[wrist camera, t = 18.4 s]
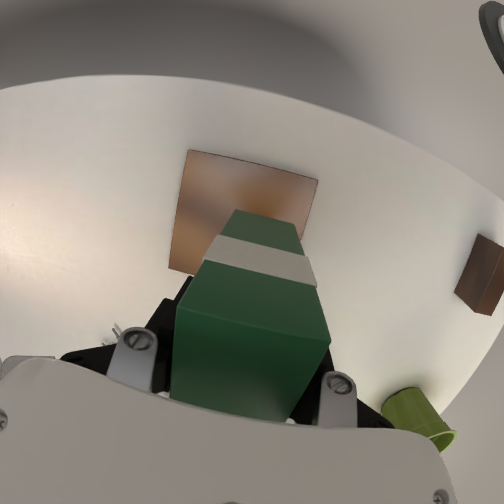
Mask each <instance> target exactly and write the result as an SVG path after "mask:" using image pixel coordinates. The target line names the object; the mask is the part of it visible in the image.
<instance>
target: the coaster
mask: <svg viewBox="0 0 504 504" xmlns="http://www.w3.org/2000/svg"><path fill="white" fill-rule="evenodd" d="M317 184H318V180H316V179H312V178H309V177H305V176H302V175H298V174H295V173H291V172H288V171H284V170H280V169H276V168H272V167H268V166H264V165H260V164H256V163H252V162H248V161H243V160H239V159H235V158H230V157H225V156H221V155H216V154H211V153H206V152H200V151H195V150H188V152H187V157H186V162H185V167H184V172H183V177H182V182H181V187H180V193H179V198H178V204H177V210H176V216H175V223H174V229H173V236H172V243H171V251H170V258H169V267H168V268H169V269H173V270H177V271H180V272H184V273H188V274H191V275H195V274H196V273H197V271H198V269H199V268H200V266H201V264H202V259H203V256H204V255H205V253H206V251H207V250H208V248H209V247H210V245H211V244H212V242H213V240H214V239H215V237H216V236H217V235H219V234H220V233H221V231H222V229H223V228H224V226H225V225H226V223H227V221H228V220H229V218H230V217H231V215H232V213H233V212H234V210H235V209H237V210H241V211H246V212H250V213H254V214H258V215H262V216H266V217H269V218H273V219H277V220H281V221H285V222H289V223H293V224H294V225H295V228H296V231H297V234H298V236H299V239H300V241H301V238H302V235H303V232H304V228H305V225H306V222H307V218H308V215H309V212H310V208H311V205H312V201H313V198H314V194H315V191H316V187H317Z"/></svg>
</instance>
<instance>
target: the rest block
mask: <svg viewBox="0 0 504 504" xmlns="http://www.w3.org/2000/svg"><path fill="white" fill-rule="evenodd" d="M503 291H504V247H502V246H500V245H498V244H497V243H495V242H493V241H491V240H489V239H487V238H486V237H484V236H482V235H480V234H478V235H477V238H476V241H475V244H474V246H473V249H472V252H471V254H470V257H469V259H468V262H467V264H466V267H465V269H464V271H463V274H462V276H461V278H460V281H459V283H458V285H457V287H456V289H455V291H454V293H455V294H456V295H457V296H458V297H459V298H460V299H462V300H463V301H464V302H465V303H466V304H467V305H468V306H469V307H470V308H471V309H472V310H473V311H474V312H476V313H480V314H484V315H489V316H492V314H493V312H494V310H495V308H496V306H497V304H498V302H499V300H500V298H501V296H502V294H503Z"/></svg>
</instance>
